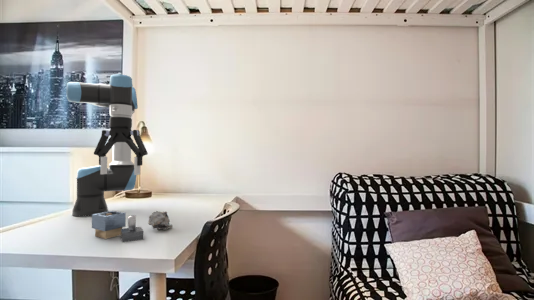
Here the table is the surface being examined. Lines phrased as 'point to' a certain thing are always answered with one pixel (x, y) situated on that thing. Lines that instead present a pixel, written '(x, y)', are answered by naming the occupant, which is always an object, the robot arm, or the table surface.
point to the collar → (108, 220)
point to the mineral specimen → (159, 220)
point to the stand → (108, 232)
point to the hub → (132, 231)
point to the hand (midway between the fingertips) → (120, 174)
